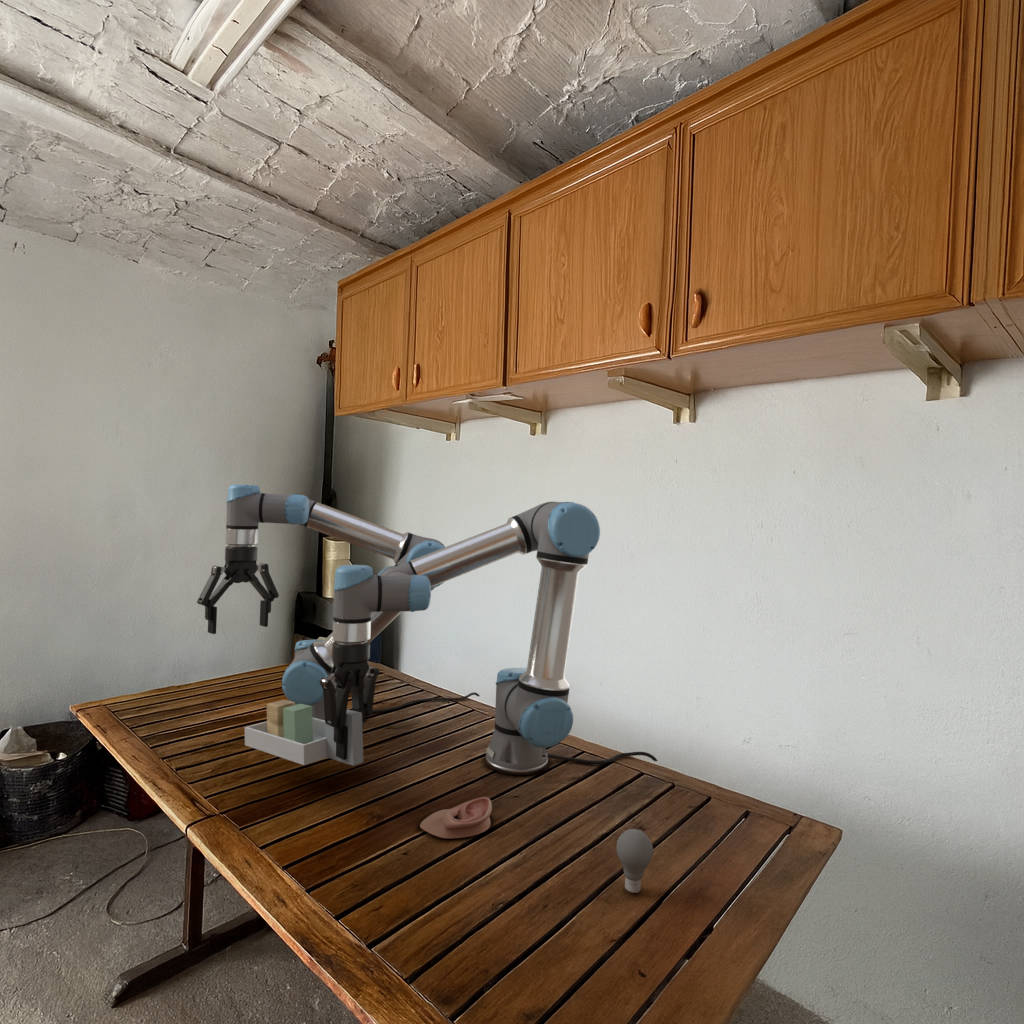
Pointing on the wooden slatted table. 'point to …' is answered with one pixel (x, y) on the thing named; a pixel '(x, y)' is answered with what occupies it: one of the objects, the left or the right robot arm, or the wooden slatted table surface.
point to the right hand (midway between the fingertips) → (347, 754)
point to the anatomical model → (460, 820)
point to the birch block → (276, 717)
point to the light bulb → (634, 857)
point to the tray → (314, 750)
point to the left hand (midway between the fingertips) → (238, 629)
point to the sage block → (298, 723)
